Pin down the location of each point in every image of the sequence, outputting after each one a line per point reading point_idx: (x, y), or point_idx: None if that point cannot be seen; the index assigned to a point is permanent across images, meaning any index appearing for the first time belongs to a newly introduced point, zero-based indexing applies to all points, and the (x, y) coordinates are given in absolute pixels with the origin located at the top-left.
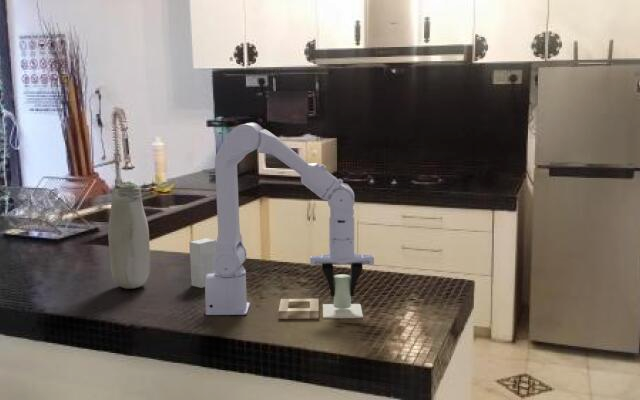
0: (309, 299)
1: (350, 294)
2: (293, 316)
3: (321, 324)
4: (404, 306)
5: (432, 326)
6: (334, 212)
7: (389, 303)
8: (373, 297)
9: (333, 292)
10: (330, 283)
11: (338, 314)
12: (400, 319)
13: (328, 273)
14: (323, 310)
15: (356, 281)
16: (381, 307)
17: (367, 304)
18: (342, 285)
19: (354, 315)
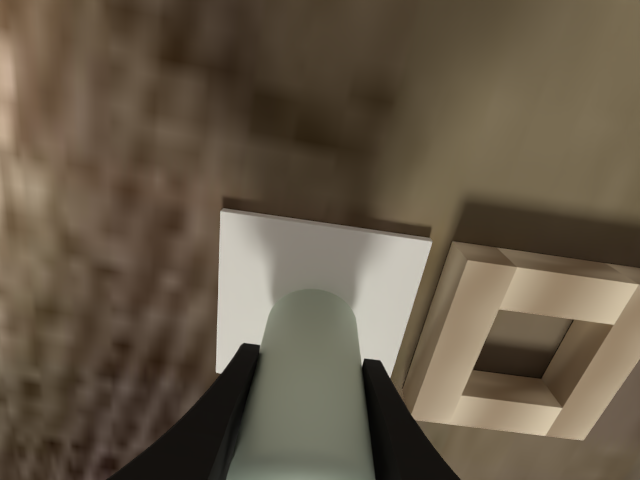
0: (455, 416)
1: (259, 357)
2: (584, 264)
3: (466, 148)
4: (13, 325)
5: None
6: None
7: (86, 369)
8: (155, 437)
9: (372, 374)
10: (409, 430)
11: (344, 258)
12: (16, 149)
13: None
14: (404, 322)
15: (186, 416)
16: (122, 331)
17: (185, 373)
18: (313, 396)
19: (264, 229)
